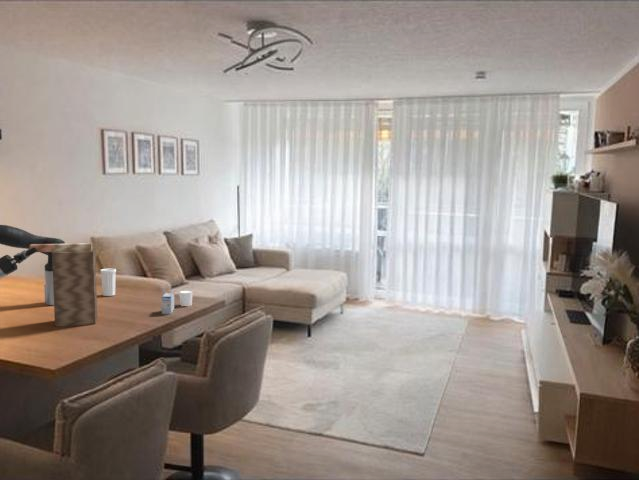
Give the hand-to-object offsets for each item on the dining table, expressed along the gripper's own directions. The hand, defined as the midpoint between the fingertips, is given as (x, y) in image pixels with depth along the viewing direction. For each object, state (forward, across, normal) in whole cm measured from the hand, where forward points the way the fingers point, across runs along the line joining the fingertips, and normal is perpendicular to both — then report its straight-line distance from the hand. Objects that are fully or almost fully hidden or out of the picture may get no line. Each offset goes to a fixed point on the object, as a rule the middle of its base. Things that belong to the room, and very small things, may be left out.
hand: (37, 247), depth 224 cm
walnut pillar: (-5, 0, +36) cm, 37 cm away
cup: (+4, +52, +42) cm, 67 cm away
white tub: (+37, +20, +61) cm, 74 cm away
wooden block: (+7, 0, +6) cm, 9 cm away
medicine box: (+29, +7, +56) cm, 64 cm away
